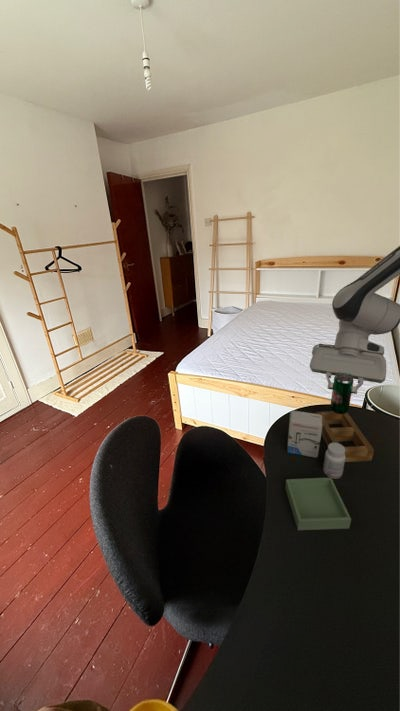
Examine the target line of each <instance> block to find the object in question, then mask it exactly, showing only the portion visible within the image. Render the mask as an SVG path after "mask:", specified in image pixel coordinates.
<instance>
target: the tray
mask: <svg viewBox="0 0 400 711" xmlns="http://www.w3.org/2000/svg"><path fill="white" fill-rule="evenodd" d="M284 490H285V491H286V495H287V500H288V502H289V505H290V509H291V512H292V516H293V519H294V522H295V527H296V529H297V531H318V530H349V529H350V528H351V527H350V526H351V522H352V518H351V516H350V514H349V512H348V509H347V507H346V505H345V503H344V501H343V499H342V496H341V495H340V492H339V491H338V489H337V486H336V485H335V483H334V480H333V478H330V477H309V478H289V479H285V489H284Z"/></svg>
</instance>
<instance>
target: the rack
mask: <svg viewBox="0 0 400 711" xmlns="http://www.w3.org/2000/svg"><path fill="white" fill-rule="evenodd" d="M315 414H320V415H322V425H323V426H322V433H321V438H323V441H324V443H325V444H326V446H327V447H328V445H329V444H330V443H339V444H340V442H353V444H354V446H344V448H345V463H353V462H354V463H355V462H372V460H373V456H374V452H375V449H374V448H373V446H372V445H371V443H370V441H368V439H367V438H366V437H365V435H364V433H363V432H362V430H360V428H359V427H358V425H357V424H356V422H354V419H352V417H351V415H350V414H349V413H348V412H347V413H345V414H337V413H335V412H333V411H332V410H331V411H330V410H329V411H316V412H315ZM330 425H341V427H330Z"/></svg>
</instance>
